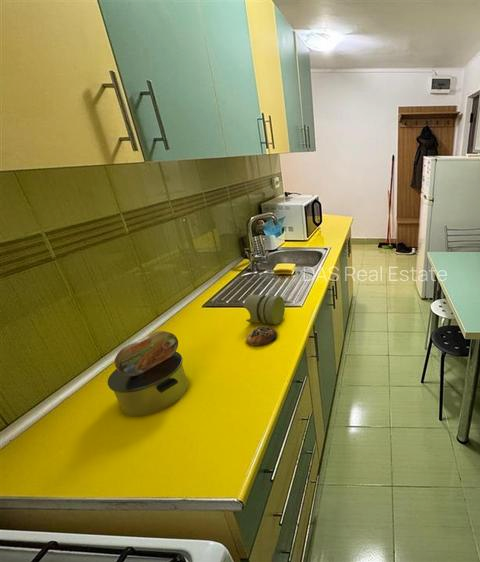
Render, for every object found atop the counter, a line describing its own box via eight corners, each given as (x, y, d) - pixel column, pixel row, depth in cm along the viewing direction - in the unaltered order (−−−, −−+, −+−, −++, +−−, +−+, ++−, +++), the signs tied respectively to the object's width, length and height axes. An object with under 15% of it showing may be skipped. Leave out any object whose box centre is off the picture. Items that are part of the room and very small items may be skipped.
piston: (260, 313, 132) (255, 290, 127) (286, 315, 130) (282, 291, 125) (246, 327, 121) (240, 302, 117) (274, 329, 119) (269, 304, 115)
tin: (125, 382, 79) (113, 356, 76) (119, 379, 80) (107, 352, 77) (182, 351, 91) (174, 327, 88) (175, 348, 92) (168, 324, 89)
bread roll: (275, 344, 109) (271, 332, 108) (244, 351, 109) (240, 339, 107) (279, 329, 120) (276, 318, 118) (251, 335, 119) (247, 324, 117)
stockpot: (105, 402, 85) (92, 376, 81) (167, 367, 99) (158, 343, 95) (143, 429, 77) (130, 400, 73) (205, 386, 90) (197, 361, 87)
